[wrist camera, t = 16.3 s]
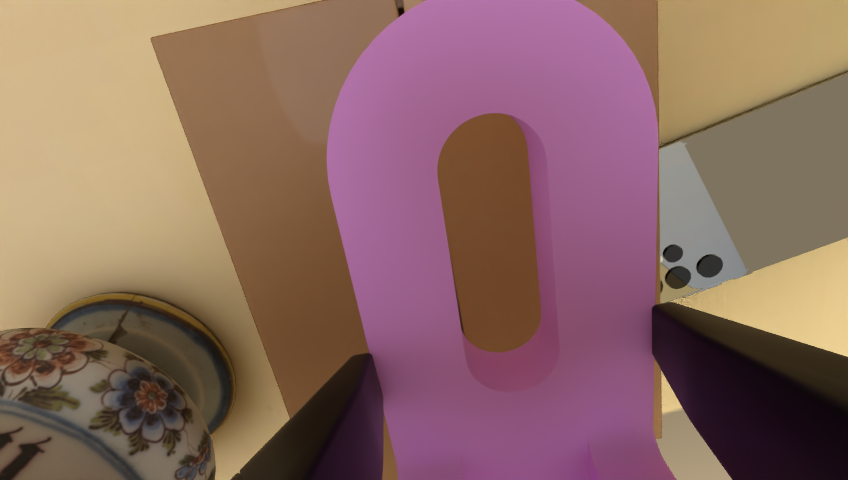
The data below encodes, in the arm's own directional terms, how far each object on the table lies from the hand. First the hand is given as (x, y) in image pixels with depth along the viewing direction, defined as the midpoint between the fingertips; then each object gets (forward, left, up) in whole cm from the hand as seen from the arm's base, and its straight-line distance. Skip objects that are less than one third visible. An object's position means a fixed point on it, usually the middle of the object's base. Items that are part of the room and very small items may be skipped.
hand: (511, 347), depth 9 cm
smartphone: (-15, +2, -12) cm, 19 cm away
